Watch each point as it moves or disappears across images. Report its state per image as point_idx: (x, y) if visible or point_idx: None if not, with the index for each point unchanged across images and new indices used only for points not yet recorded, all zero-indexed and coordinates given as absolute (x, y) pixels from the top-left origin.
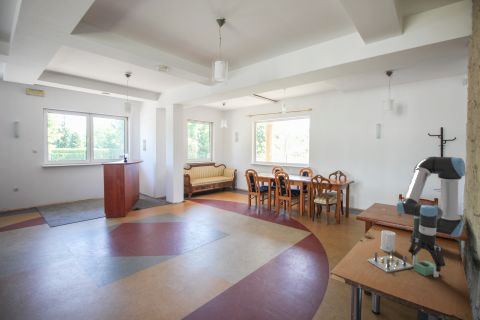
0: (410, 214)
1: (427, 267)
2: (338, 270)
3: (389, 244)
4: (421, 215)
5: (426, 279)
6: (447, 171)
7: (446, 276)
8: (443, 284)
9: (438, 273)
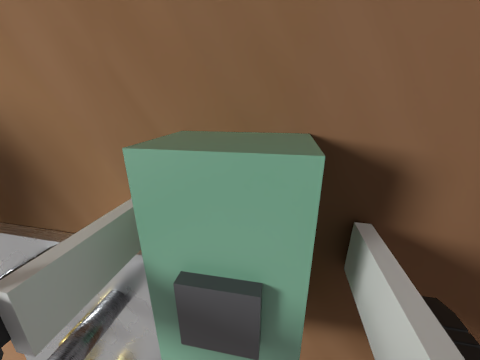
0: None
1: (292, 354)
2: None
3: None
4: None
5: (335, 345)
6: None
7: (418, 112)
8: (467, 319)
9: (386, 252)
